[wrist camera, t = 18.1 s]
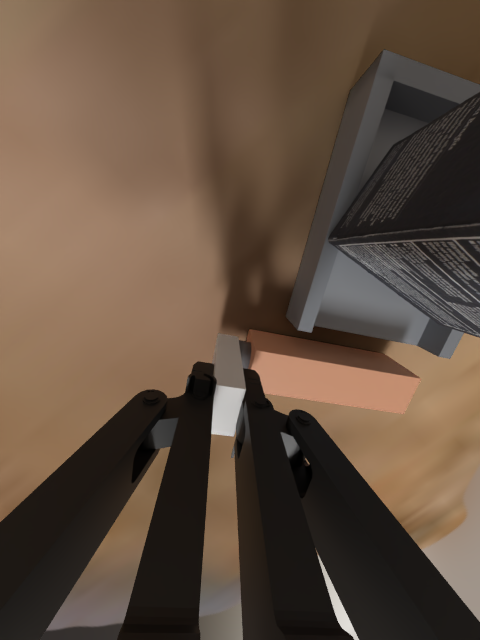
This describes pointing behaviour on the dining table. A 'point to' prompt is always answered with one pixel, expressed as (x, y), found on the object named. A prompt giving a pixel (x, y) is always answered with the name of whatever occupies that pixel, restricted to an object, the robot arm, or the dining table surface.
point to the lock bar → (328, 372)
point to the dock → (342, 188)
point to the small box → (424, 219)
